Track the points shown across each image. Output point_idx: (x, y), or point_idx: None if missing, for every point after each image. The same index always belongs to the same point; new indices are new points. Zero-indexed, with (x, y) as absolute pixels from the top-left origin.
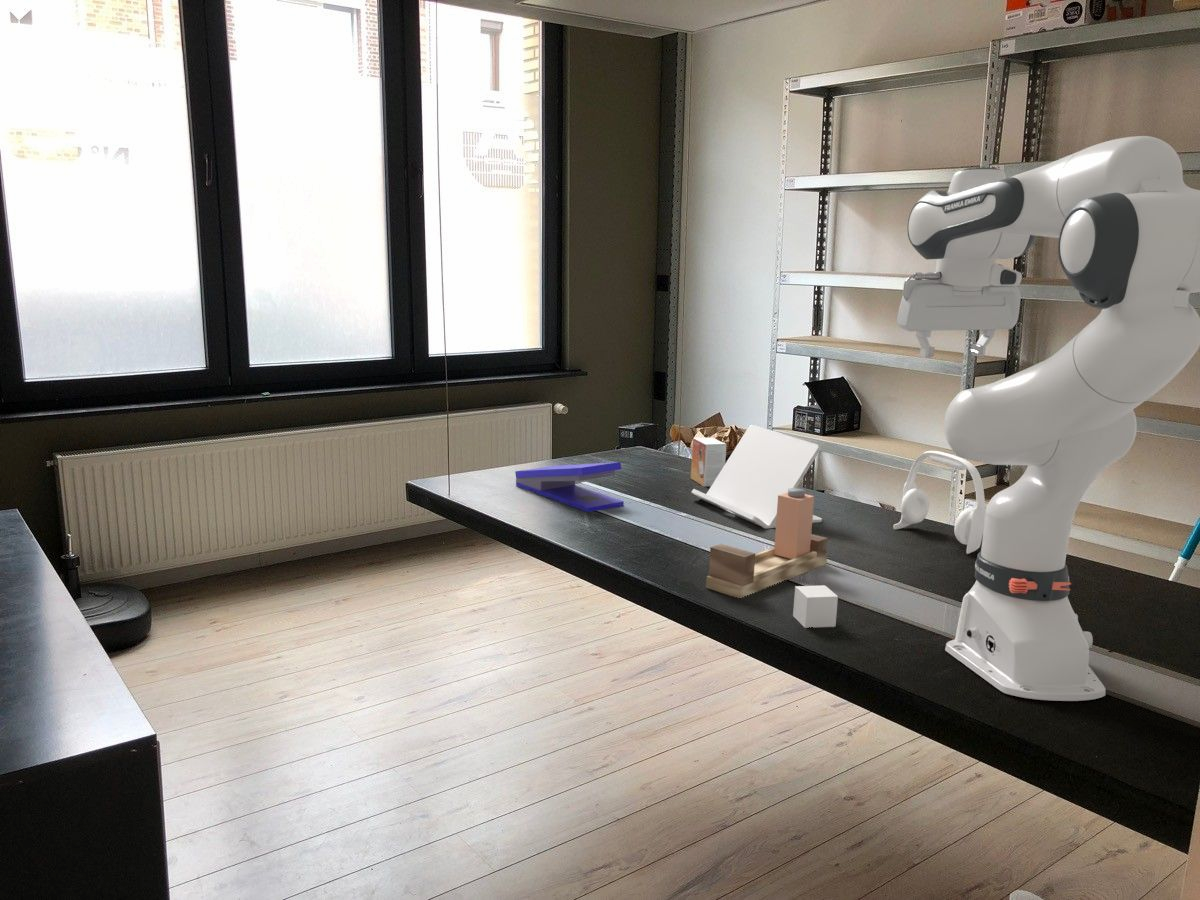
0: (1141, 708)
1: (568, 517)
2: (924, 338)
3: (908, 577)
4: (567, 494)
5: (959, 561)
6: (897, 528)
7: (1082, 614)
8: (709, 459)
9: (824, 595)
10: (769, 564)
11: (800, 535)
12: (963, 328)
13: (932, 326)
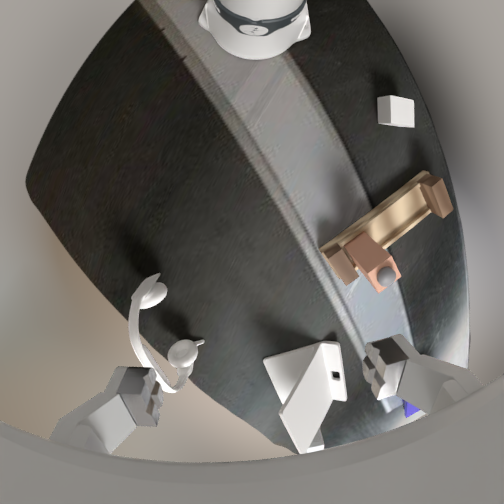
0: None
1: (438, 347)
2: (460, 369)
3: (253, 206)
4: None
5: (176, 251)
6: (200, 340)
7: (131, 105)
8: (318, 435)
9: (399, 100)
10: (387, 224)
11: (369, 242)
12: (269, 465)
13: (492, 400)
